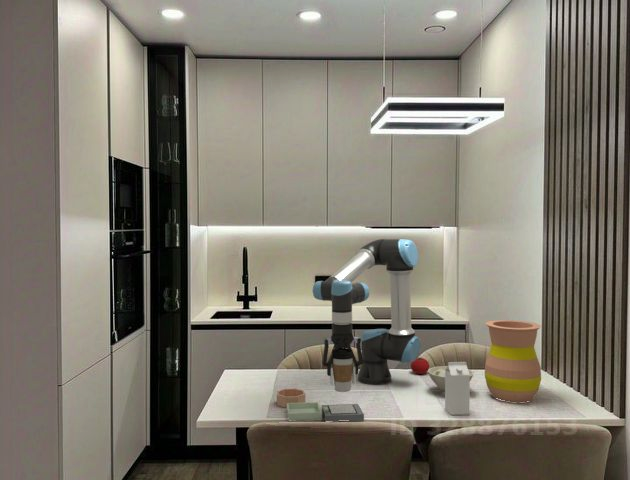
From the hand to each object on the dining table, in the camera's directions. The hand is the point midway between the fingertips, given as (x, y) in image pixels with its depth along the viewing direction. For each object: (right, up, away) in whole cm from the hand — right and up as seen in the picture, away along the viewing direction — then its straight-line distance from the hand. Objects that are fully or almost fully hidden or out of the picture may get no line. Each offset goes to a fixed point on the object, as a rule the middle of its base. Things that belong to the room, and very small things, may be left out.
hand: (342, 383), depth 207 cm
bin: (-20, -12, +15) cm, 28 cm away
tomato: (+40, -11, +59) cm, 72 cm away
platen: (0, -10, 0) cm, 10 cm away
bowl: (+47, -11, +29) cm, 56 cm away
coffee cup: (0, -2, 0) cm, 2 cm away
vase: (+71, -12, +22) cm, 75 cm away
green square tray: (-14, -12, +1) cm, 19 cm away
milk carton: (+44, -12, +4) cm, 45 cm away
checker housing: (0, -12, 0) cm, 12 cm away
